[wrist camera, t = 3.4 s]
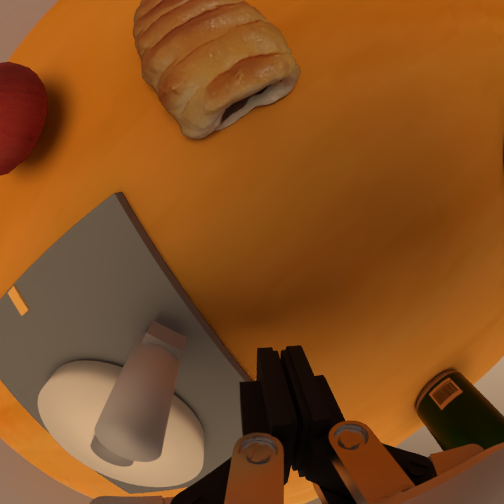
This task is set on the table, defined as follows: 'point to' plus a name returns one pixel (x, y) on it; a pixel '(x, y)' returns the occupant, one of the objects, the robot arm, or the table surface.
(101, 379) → the dial
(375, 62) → the table surface
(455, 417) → the beer can
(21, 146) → the onion
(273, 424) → the robot arm
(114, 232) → the base plate
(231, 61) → the pastry
